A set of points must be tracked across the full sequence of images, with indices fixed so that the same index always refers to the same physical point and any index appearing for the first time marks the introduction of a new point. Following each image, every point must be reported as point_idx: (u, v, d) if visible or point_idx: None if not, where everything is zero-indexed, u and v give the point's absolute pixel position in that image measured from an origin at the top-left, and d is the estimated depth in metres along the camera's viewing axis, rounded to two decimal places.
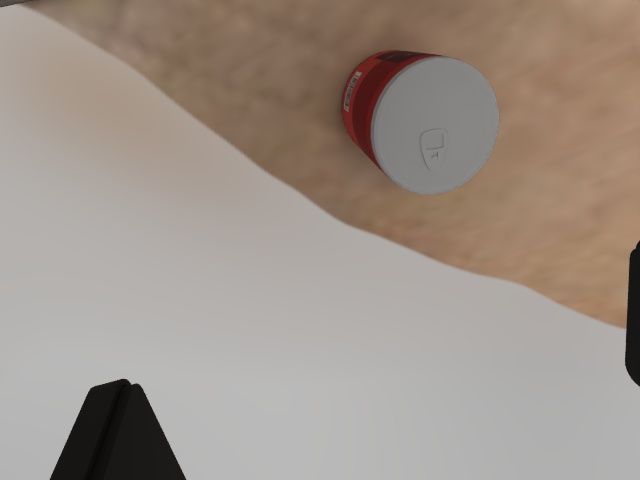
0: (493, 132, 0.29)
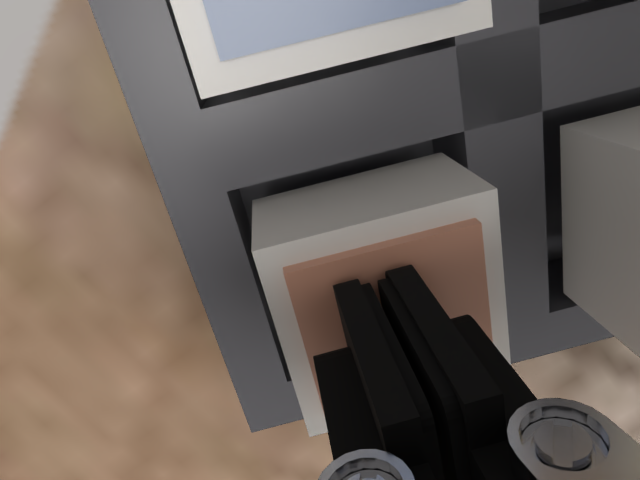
0: None
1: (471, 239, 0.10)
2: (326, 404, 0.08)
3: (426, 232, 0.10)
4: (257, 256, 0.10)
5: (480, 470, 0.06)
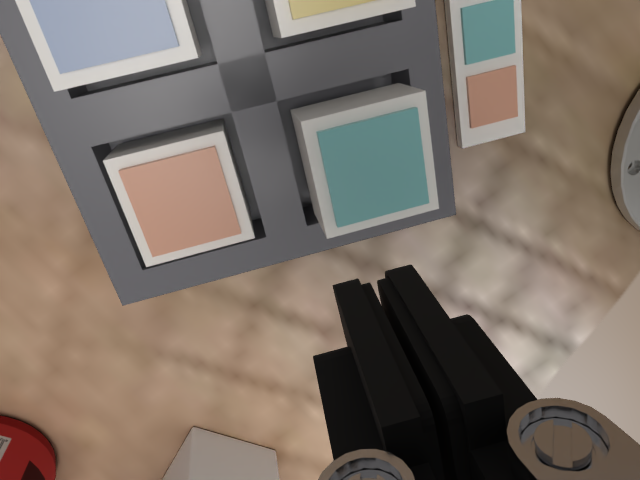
0: None
1: (211, 155, 0.20)
2: (326, 404, 0.08)
3: (189, 152, 0.20)
4: (105, 163, 0.20)
5: (480, 470, 0.06)
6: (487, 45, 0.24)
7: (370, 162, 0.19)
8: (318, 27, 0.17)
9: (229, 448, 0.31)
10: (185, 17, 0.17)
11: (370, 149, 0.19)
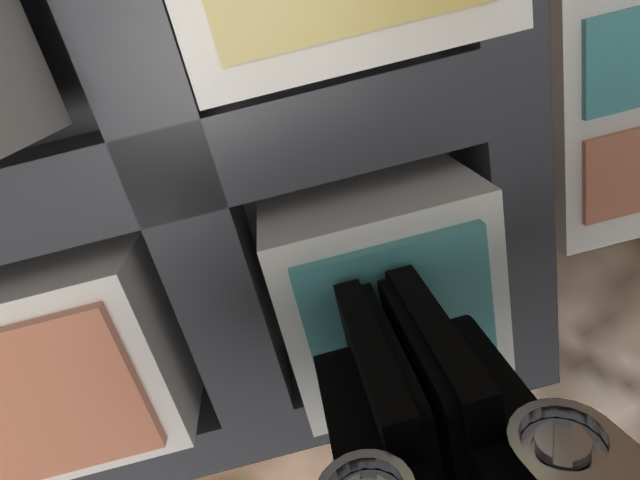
0: None
1: (92, 322, 0.10)
2: (326, 404, 0.08)
3: (50, 316, 0.10)
4: None
5: (480, 470, 0.06)
6: (627, 86, 0.13)
7: None
8: (290, 83, 0.07)
9: None
10: None
11: None
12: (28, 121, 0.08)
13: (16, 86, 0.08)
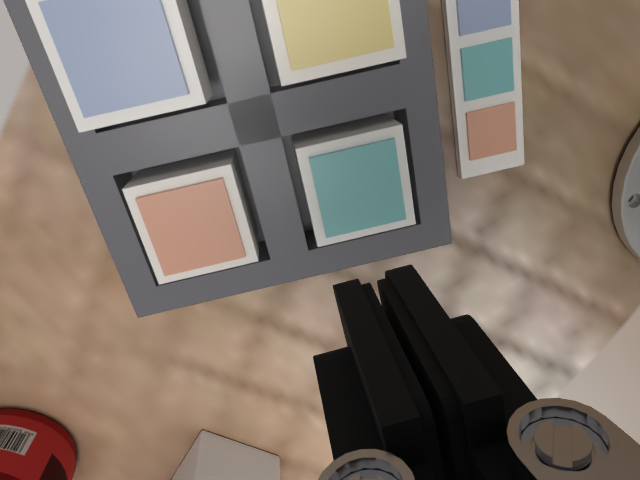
0: None
1: (219, 186, 0.22)
2: (326, 404, 0.08)
3: (199, 183, 0.22)
4: (124, 191, 0.22)
5: (480, 470, 0.06)
6: (486, 83, 0.25)
7: (354, 184, 0.23)
8: (315, 76, 0.19)
9: (235, 452, 0.33)
10: (195, 68, 0.18)
11: (354, 172, 0.23)
12: (207, 90, 0.20)
13: (203, 76, 0.20)
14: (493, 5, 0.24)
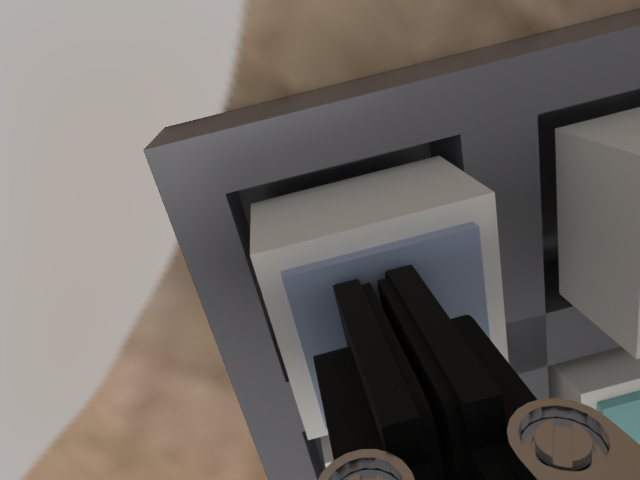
0: None
1: None
2: (326, 404, 0.08)
3: None
4: None
5: (480, 470, 0.06)
6: None
7: None
8: None
9: None
10: (505, 342, 0.11)
11: None
12: None
13: None
14: None
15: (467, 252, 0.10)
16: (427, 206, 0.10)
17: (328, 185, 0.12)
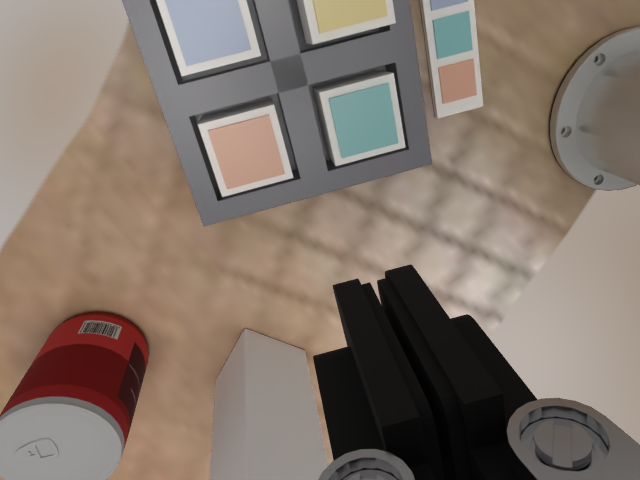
0: None
1: (266, 120, 0.31)
2: (326, 404, 0.08)
3: (252, 118, 0.31)
4: (199, 126, 0.31)
5: (480, 470, 0.06)
6: (452, 45, 0.35)
7: (361, 117, 0.32)
8: (335, 37, 0.28)
9: (271, 344, 0.42)
10: (254, 33, 0.30)
11: (361, 108, 0.32)
12: None
13: None
14: None
15: None
16: None
17: None
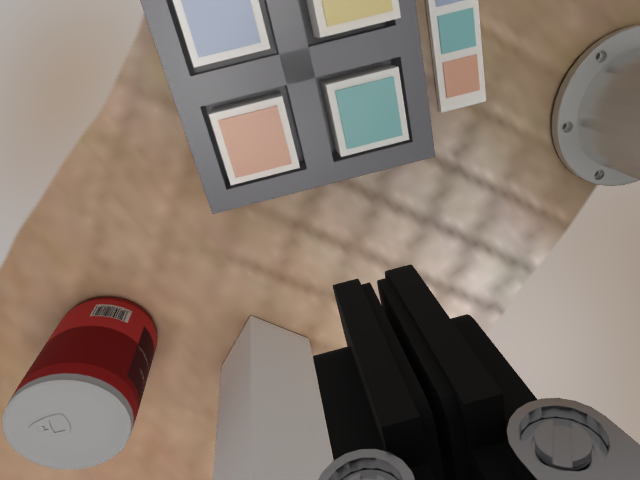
0: (75, 466, 0.33)
1: (274, 111, 0.32)
2: (326, 404, 0.08)
3: (261, 109, 0.32)
4: (210, 116, 0.32)
5: (480, 470, 0.06)
6: (456, 41, 0.36)
7: (366, 109, 0.33)
8: (342, 31, 0.29)
9: (276, 331, 0.43)
10: (264, 26, 0.31)
11: (366, 100, 0.33)
12: None
13: None
14: None
15: None
16: None
17: None
